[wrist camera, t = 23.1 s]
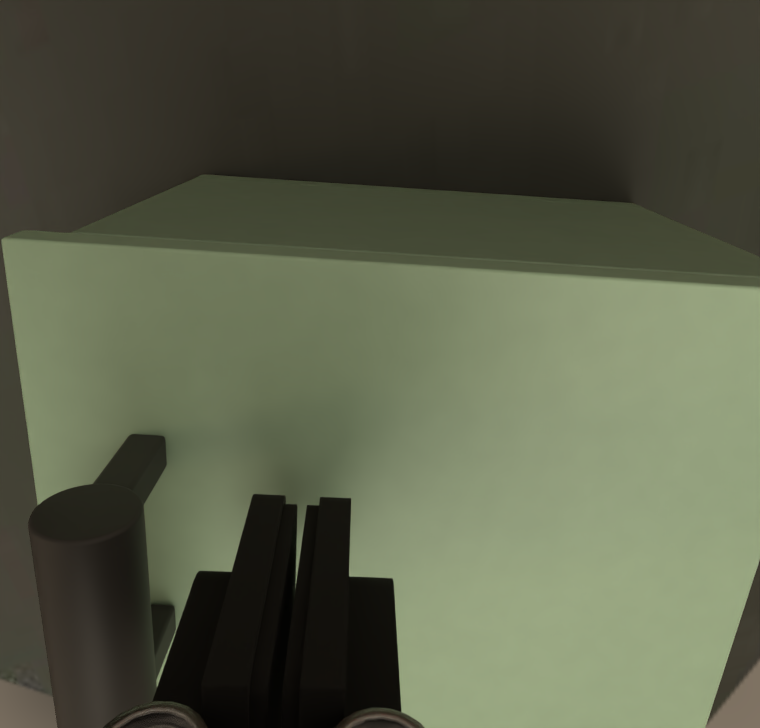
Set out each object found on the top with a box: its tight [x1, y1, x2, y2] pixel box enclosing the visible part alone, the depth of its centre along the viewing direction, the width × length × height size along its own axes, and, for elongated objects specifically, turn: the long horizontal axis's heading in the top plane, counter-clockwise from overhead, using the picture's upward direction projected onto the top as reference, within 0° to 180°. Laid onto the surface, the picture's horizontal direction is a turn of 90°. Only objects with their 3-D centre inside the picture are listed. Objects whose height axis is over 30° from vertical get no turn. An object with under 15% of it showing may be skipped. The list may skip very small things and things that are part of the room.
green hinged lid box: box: [71, 174, 760, 278], centre depth 19 cm, size 14×12×10 cm
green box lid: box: [1, 230, 760, 728], centre depth 13 cm, size 15×12×4 cm
